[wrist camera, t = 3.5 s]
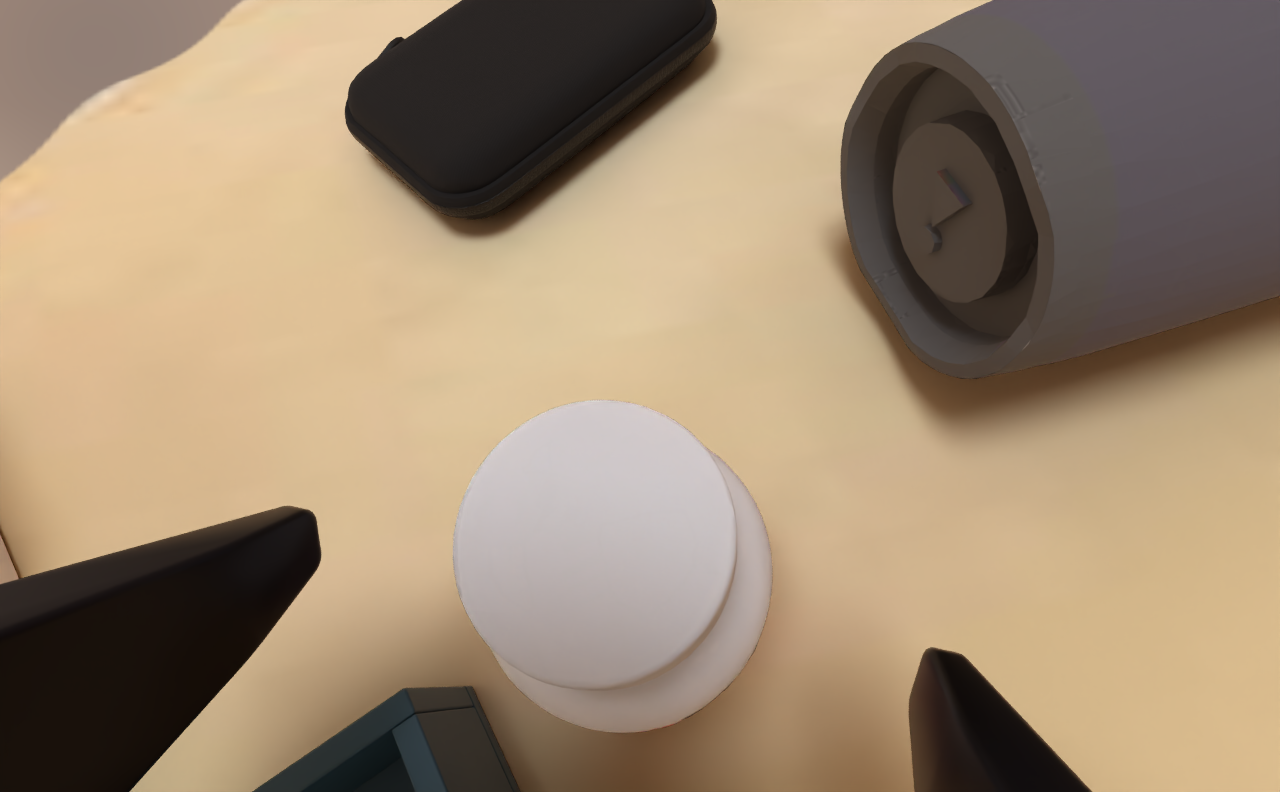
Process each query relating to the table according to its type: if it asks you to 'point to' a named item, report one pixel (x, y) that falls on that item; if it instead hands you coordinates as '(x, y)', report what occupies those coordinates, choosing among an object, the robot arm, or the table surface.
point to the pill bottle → (613, 566)
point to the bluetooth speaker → (1067, 176)
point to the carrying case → (515, 90)
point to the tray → (407, 750)
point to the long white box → (6, 565)
